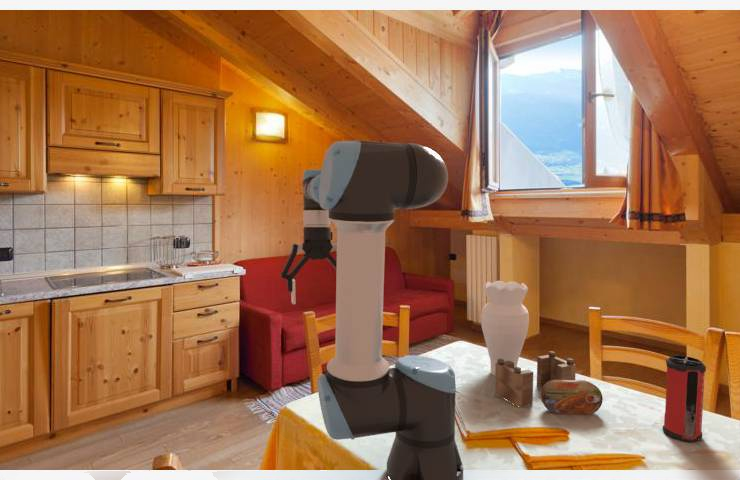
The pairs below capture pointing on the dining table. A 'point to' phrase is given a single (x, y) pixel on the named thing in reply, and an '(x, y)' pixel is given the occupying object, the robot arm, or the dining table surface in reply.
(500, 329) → the vase
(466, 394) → the dining table surface
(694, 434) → the speaker
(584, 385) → the tin
